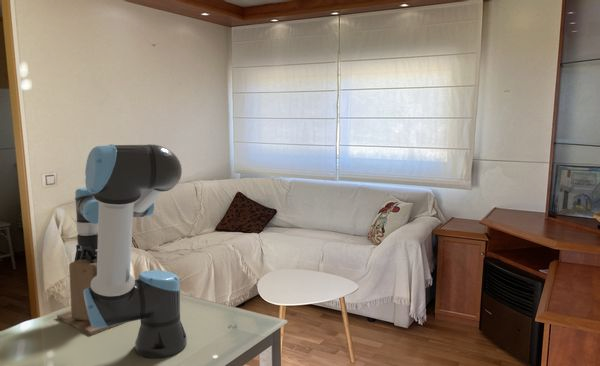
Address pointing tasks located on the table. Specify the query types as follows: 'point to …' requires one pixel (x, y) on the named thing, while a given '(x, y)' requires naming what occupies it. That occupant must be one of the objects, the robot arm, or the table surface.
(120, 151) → the robot arm
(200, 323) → the table surface
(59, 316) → the board
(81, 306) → the wooden block
